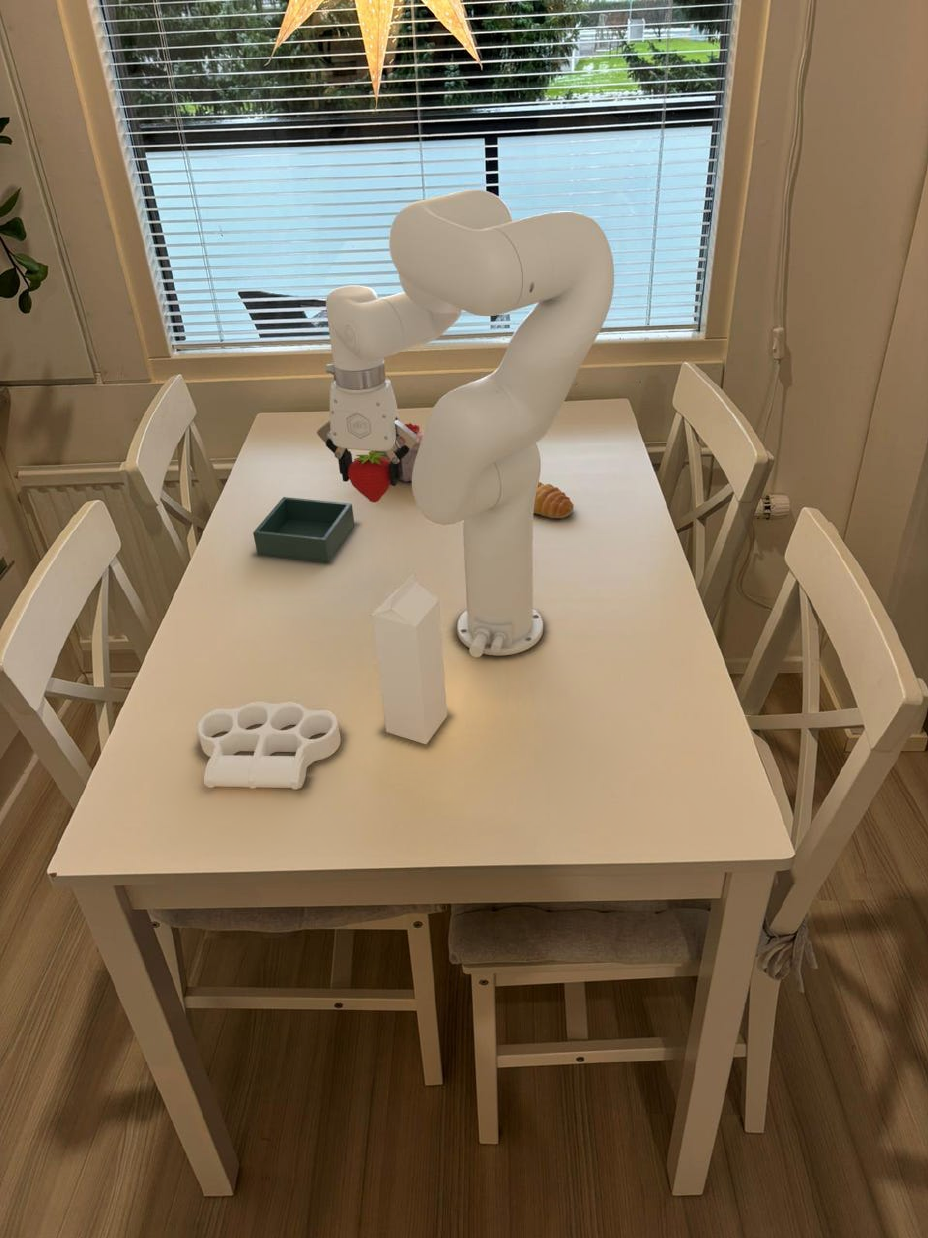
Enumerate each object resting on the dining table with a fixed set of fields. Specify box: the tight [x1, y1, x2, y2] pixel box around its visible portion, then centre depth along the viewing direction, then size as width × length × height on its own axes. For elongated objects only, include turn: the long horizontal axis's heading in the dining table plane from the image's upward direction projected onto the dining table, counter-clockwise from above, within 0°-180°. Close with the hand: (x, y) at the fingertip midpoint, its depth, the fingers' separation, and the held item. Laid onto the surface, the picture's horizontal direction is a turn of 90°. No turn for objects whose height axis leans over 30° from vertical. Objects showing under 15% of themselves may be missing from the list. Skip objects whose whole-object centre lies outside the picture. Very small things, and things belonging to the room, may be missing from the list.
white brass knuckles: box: [196, 700, 342, 790], centre depth 117 cm, size 3×18×15 cm
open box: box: [252, 496, 356, 564], centre depth 158 cm, size 12×13×4 cm
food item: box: [374, 422, 425, 482], centre depth 175 cm, size 14×8×10 cm, turn 83°
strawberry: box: [348, 451, 391, 503], centre depth 148 cm, size 6×8×10 cm
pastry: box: [533, 481, 575, 519], centre depth 163 cm, size 9×7×4 cm
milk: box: [371, 572, 448, 745], centre depth 114 cm, size 6×6×22 cm
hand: (372, 479), depth 148 cm, fingers closed on strawberry, 7 cm apart
